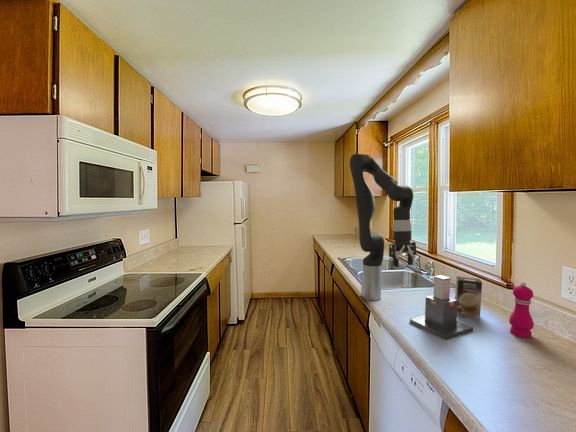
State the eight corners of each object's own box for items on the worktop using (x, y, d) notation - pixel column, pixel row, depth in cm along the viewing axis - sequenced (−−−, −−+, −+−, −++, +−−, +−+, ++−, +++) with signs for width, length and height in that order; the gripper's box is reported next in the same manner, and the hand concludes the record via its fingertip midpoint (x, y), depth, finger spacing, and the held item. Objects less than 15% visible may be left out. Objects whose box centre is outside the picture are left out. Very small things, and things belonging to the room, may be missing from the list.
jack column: (432, 320, 116) (433, 276, 115) (439, 318, 118) (441, 275, 117) (441, 324, 112) (443, 279, 111) (449, 322, 114) (450, 277, 113)
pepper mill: (537, 339, 105) (540, 285, 104) (515, 337, 106) (518, 284, 105) (525, 330, 112) (528, 280, 111) (504, 328, 113) (507, 278, 112)
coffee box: (455, 315, 126) (457, 279, 125) (454, 310, 132) (455, 276, 131) (480, 319, 122) (482, 282, 121) (478, 314, 128) (479, 278, 127)
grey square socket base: (409, 322, 119) (410, 295, 118) (436, 315, 126) (437, 289, 125) (445, 339, 105) (446, 308, 104) (473, 331, 111) (474, 302, 111)
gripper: (407, 229, 136) (408, 263, 136) (384, 230, 130) (385, 266, 130) (420, 229, 130) (421, 265, 130) (396, 231, 124) (397, 268, 124)
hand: (403, 265), depth 130 cm, fingers open, 8 cm apart
